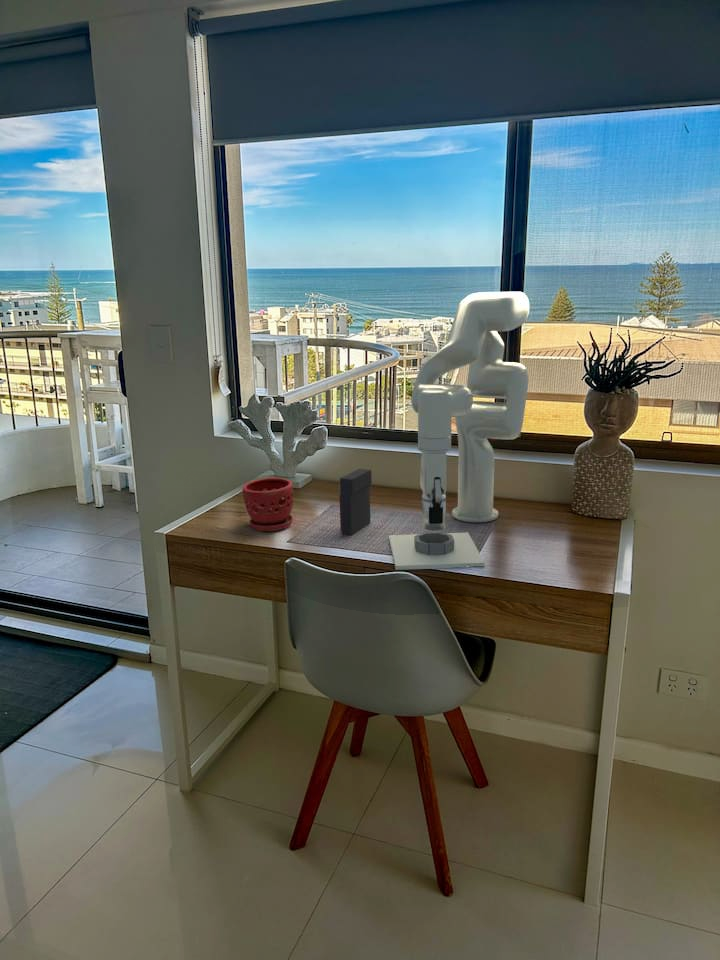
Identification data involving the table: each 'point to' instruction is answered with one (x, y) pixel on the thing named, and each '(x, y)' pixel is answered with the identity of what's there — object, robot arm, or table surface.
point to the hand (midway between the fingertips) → (433, 518)
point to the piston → (425, 513)
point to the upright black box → (355, 501)
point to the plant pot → (269, 503)
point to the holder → (434, 551)
